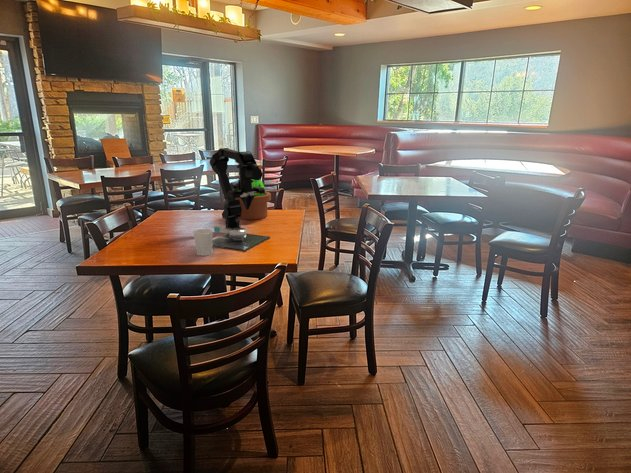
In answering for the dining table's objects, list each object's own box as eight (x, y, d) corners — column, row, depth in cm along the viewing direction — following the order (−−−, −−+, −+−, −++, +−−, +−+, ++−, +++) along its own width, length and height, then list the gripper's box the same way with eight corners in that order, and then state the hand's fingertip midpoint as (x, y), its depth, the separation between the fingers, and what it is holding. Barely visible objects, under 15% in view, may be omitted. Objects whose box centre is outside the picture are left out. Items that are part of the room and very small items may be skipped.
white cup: (204, 257, 174) (202, 235, 171) (191, 254, 178) (189, 232, 175) (217, 252, 181) (216, 230, 178) (205, 249, 185) (203, 228, 182)
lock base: (201, 244, 191) (201, 239, 190) (229, 232, 210) (229, 228, 209) (245, 251, 182) (244, 246, 181) (270, 238, 201) (270, 233, 200)
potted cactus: (226, 216, 244) (223, 174, 237) (258, 210, 258) (256, 170, 250) (245, 223, 228) (243, 178, 221) (278, 216, 241) (277, 174, 234)
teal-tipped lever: (249, 234, 196) (249, 228, 196) (240, 239, 190) (239, 232, 189) (221, 230, 203) (220, 224, 202) (210, 235, 196) (210, 228, 195)
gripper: (252, 174, 210) (253, 204, 215) (220, 178, 198) (222, 209, 203) (265, 176, 202) (266, 207, 207) (232, 180, 190) (234, 213, 195)
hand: (247, 209), depth 203 cm, fingers closed
